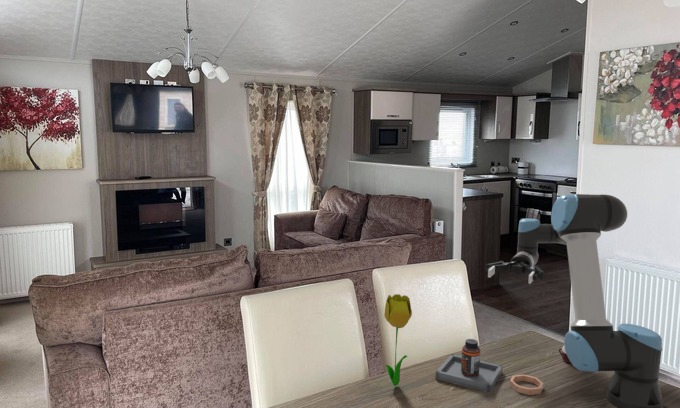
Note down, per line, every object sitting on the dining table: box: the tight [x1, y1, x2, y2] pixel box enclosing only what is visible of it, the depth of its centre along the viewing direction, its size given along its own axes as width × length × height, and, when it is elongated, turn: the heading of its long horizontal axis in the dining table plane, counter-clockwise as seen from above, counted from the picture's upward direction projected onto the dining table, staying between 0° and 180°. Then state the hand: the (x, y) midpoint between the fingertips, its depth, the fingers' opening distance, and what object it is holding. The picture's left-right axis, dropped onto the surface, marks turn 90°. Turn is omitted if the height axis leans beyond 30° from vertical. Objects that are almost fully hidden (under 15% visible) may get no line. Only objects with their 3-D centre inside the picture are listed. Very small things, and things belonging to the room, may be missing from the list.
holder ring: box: [509, 374, 544, 396], centre depth 167 cm, size 10×10×2 cm
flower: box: [384, 293, 413, 388], centre depth 164 cm, size 9×8×30 cm
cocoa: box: [558, 345, 572, 364], centre depth 185 cm, size 10×6×12 cm, turn 13°
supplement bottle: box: [461, 338, 481, 376], centre depth 173 cm, size 6×6×11 cm
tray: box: [435, 353, 504, 394], centre depth 174 cm, size 18×16×2 cm
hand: (509, 276), depth 178 cm, fingers open, 13 cm apart
